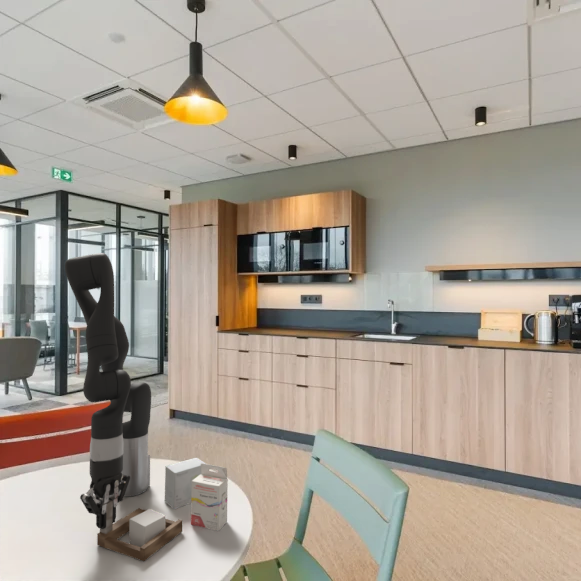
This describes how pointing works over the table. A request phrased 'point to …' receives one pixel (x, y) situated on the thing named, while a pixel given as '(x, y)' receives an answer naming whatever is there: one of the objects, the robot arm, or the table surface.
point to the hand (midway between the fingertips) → (106, 524)
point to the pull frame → (121, 527)
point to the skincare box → (181, 481)
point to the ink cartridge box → (209, 498)
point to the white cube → (145, 527)
